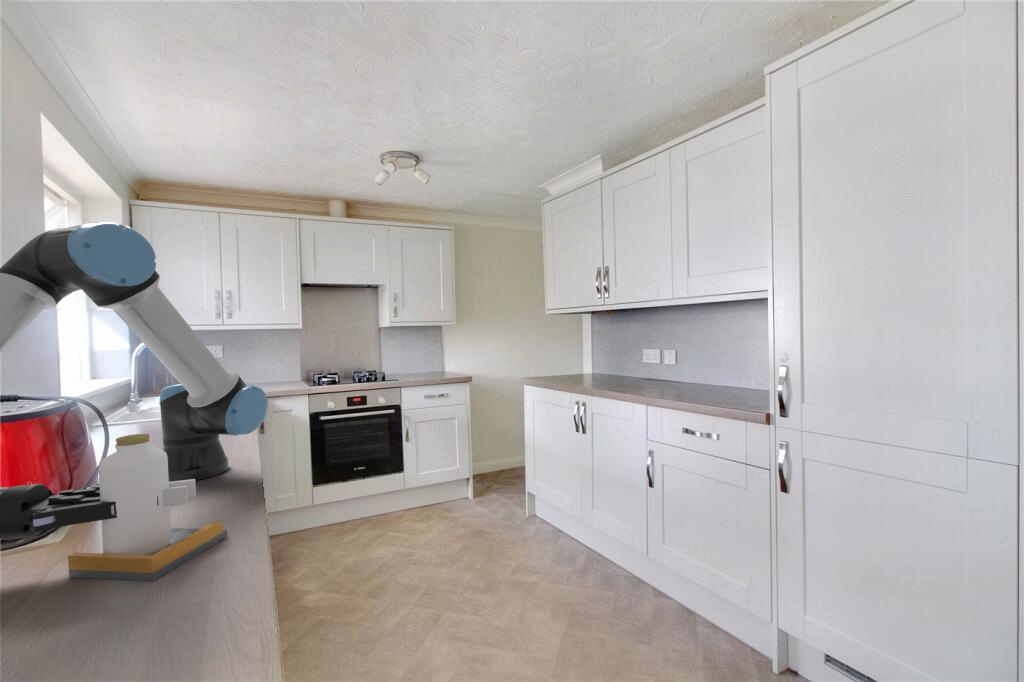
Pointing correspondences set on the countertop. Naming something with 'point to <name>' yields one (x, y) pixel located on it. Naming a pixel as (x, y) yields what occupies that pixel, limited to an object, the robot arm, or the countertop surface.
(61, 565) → the countertop surface
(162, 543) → the white bottle
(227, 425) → the robot arm
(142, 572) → the plate
